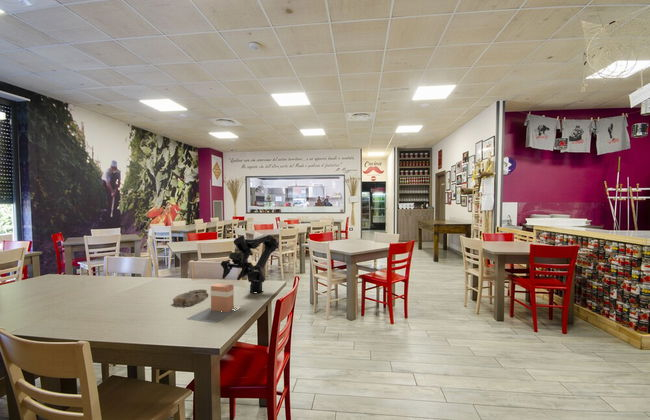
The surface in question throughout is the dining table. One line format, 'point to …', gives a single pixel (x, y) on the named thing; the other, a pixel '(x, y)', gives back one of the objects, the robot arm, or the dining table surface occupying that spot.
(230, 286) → the tall box
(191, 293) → the weathered wood piece
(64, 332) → the dining table surface
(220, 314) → the mat
